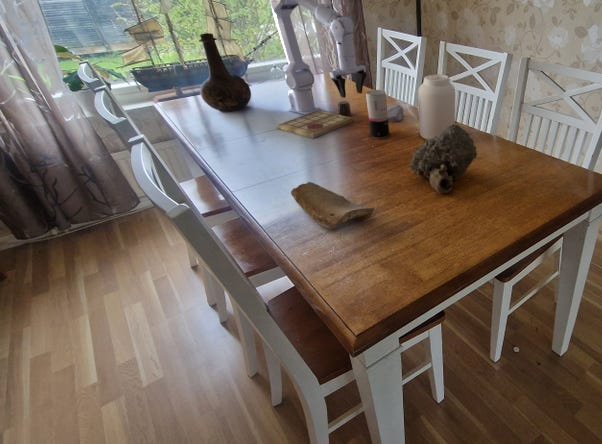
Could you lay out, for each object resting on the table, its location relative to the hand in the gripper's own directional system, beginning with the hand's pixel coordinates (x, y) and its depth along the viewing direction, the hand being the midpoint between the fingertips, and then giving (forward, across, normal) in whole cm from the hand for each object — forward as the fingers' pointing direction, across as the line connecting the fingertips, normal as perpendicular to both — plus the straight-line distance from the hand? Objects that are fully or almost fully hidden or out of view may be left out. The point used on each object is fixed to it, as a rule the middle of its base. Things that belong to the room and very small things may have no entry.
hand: (351, 94), depth 139 cm
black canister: (+10, +2, +8) cm, 13 cm away
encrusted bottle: (+10, -17, -58) cm, 62 cm away
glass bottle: (+10, -24, +51) cm, 57 cm away
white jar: (+10, +10, -34) cm, 37 cm away
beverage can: (+10, -4, -19) cm, 22 cm away
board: (+10, -12, +7) cm, 17 cm away
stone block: (+10, +10, -7) cm, 16 cm away
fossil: (+10, -46, -48) cm, 67 cm away
